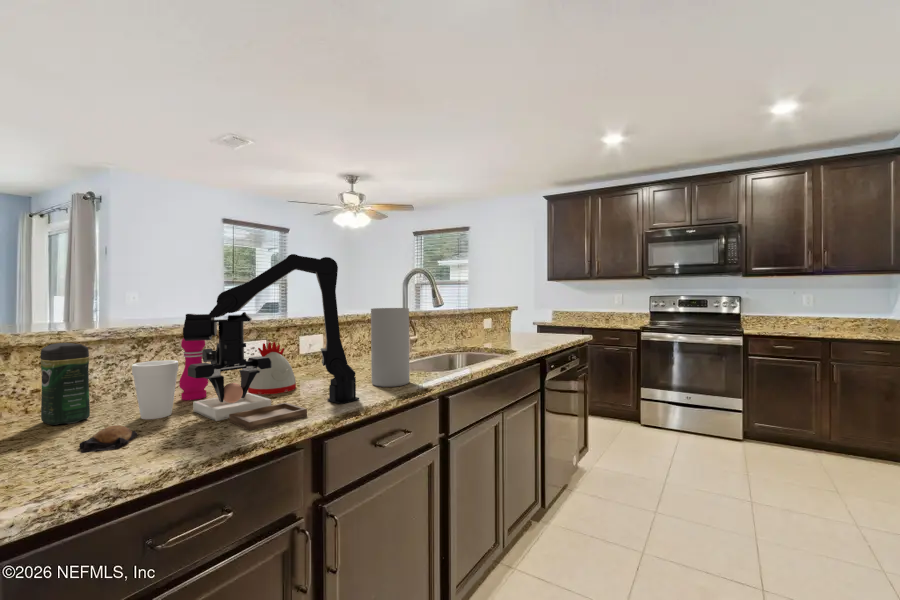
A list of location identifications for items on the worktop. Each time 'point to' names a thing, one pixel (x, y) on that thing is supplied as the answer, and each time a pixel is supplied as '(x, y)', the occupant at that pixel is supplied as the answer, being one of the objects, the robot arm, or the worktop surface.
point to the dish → (228, 406)
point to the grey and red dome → (273, 373)
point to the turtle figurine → (108, 439)
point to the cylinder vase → (390, 346)
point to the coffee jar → (65, 383)
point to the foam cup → (155, 387)
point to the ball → (232, 392)
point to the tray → (267, 415)
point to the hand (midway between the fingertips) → (232, 400)
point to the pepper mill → (188, 384)
